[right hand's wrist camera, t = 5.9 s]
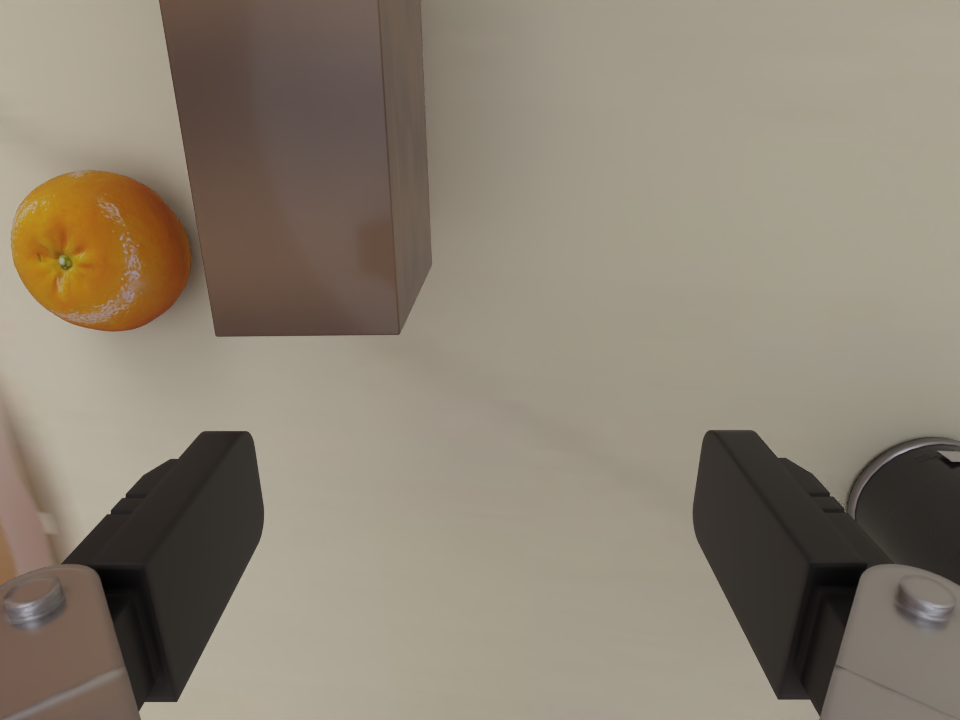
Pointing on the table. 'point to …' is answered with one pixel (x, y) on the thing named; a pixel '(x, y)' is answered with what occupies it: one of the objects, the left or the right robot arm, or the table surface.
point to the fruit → (100, 250)
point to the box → (305, 160)
